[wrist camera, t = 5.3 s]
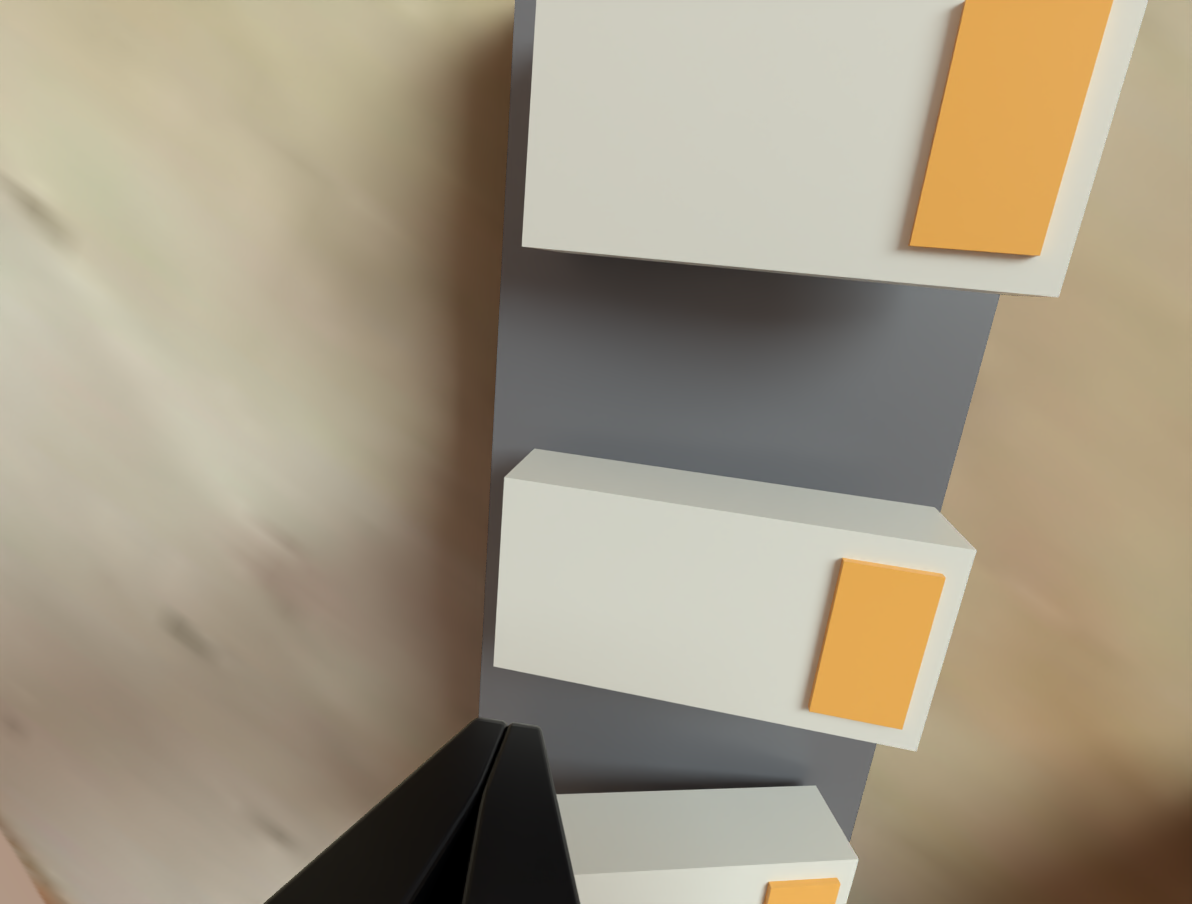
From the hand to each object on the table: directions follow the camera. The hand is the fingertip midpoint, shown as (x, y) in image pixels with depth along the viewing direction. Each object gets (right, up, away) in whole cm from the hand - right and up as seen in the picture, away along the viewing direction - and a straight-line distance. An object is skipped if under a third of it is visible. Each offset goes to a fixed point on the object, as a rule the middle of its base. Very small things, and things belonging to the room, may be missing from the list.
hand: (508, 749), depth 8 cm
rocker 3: (+2, -6, +7) cm, 10 cm away
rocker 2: (+3, +1, +4) cm, 6 cm away
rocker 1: (+4, +9, +2) cm, 10 cm away
